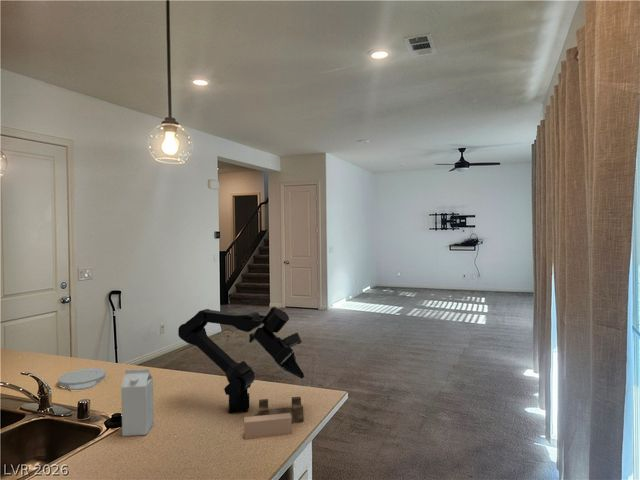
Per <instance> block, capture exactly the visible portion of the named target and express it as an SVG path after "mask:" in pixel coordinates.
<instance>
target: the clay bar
mask: <svg viewBox="0 0 640 480" xmlns="http://www.w3.org/2000/svg"><path fill="white" fill-rule="evenodd" d="M243 419H244V420H243V421H244V422H243V425H244V428H243V429H244V439H245V440H246V439H254V438H264V437H272V436H281V435H282V436H283V435H289V434H293V433H292V432H293V431H292V429H293V427H292V426H293V424H292V418H291V414H290V413H283V414H273V415H263V416H259V415H256V416H255V415H253V416H245V417H243Z"/></svg>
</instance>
